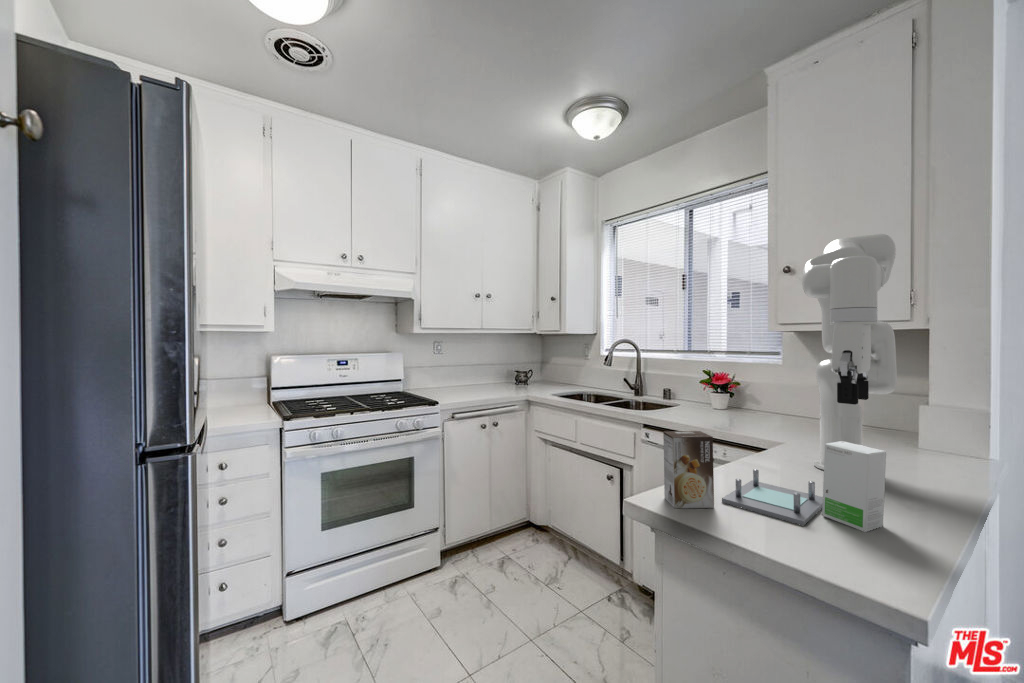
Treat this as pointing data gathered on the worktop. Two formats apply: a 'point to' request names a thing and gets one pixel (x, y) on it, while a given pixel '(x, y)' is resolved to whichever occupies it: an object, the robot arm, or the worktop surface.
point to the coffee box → (688, 469)
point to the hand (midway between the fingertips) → (853, 401)
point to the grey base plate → (775, 502)
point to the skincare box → (854, 485)
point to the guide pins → (796, 495)
